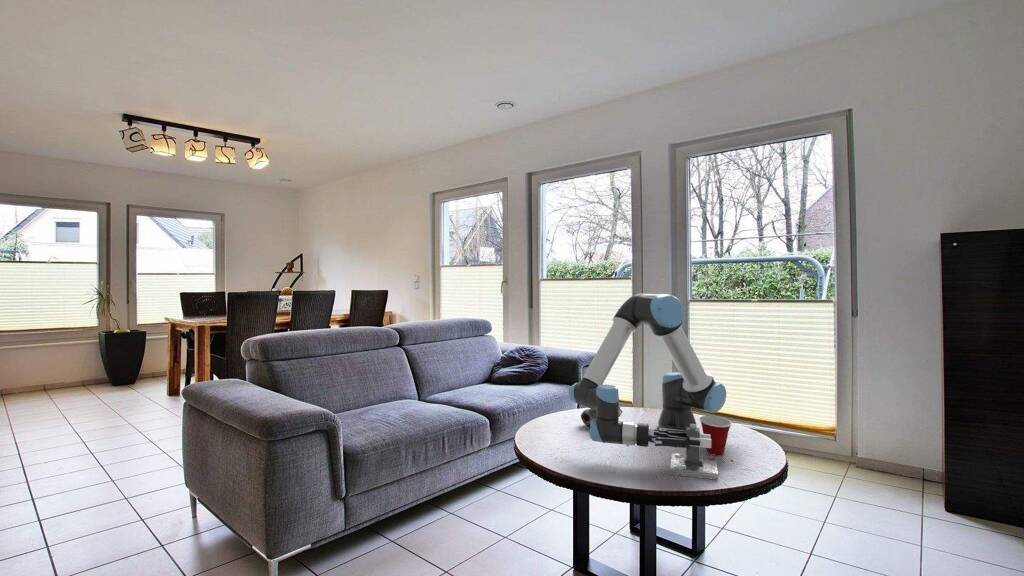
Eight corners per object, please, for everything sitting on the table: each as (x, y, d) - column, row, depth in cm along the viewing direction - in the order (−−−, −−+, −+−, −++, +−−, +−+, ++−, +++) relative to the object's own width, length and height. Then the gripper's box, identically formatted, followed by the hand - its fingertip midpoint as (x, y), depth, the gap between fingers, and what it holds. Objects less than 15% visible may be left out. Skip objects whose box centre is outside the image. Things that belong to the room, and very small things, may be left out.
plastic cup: (717, 460, 173) (717, 425, 173) (692, 450, 183) (692, 417, 182) (739, 455, 178) (739, 421, 178) (714, 446, 188) (714, 414, 187)
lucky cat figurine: (606, 420, 221) (620, 395, 216) (615, 439, 210) (630, 413, 205) (576, 413, 217) (589, 387, 212) (583, 432, 206) (597, 405, 202)
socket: (671, 459, 174) (671, 452, 174) (715, 464, 170) (715, 456, 170) (670, 474, 161) (670, 466, 161) (718, 479, 156) (718, 471, 156)
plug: (686, 456, 168) (686, 422, 167) (699, 458, 166) (699, 423, 166) (686, 460, 164) (686, 425, 164) (699, 462, 163) (699, 426, 162)
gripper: (638, 437, 179) (709, 444, 171) (634, 453, 163) (712, 461, 155) (638, 416, 179) (709, 422, 171) (634, 430, 163) (712, 437, 155)
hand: (710, 441), depth 163 cm, fingers closed on plug, 4 cm apart
